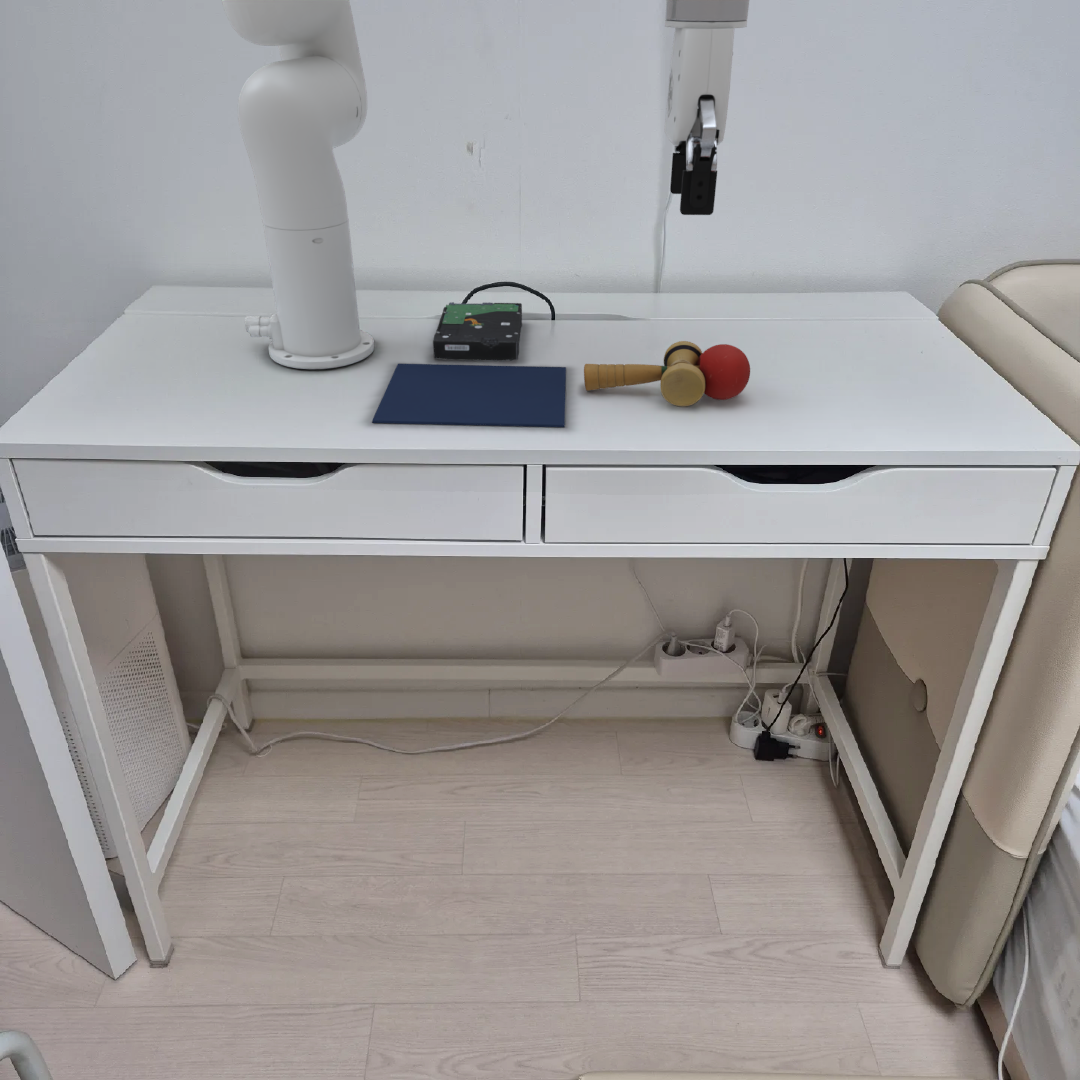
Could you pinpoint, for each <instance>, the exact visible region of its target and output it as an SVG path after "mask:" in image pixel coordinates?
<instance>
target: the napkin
mask: <svg viewBox="0 0 1080 1080" xmlns="http://www.w3.org/2000/svg"><path fill="white" fill-rule="evenodd" d="M566 387H567V367H566V366H537V365H536V366H534V365H533V366H531V365H525V366H524V365H486V364H485V365H484V364H483V365H482V364H480V365H479V364H445V363H443V364H441V363H440V364H439V363H436V364H435V363H397V365H396V367H395V369H394V371H393V374H392V376H391V378H390V380H389V382H388V384H387V387H386V388H385V390H384V394H383V395H382V398H381V399H380V402H379V404H378V407H377V409H376V410H375V414H374V416H373V417H372V420H371V423H372V424H395V425H396V424H398V425H399V424H400V425H401V424H403V425H408V424H409V425H439V426H441V425H442V426H443V425H445V426H447V425H448V426H450V425H451V426H483V427H484V426H487V427H489V426H490V427H527V428H528V427H529V428H531V427H532V428H539V427H540V428H565V427H566V426H565V425H566V390H567V389H566Z"/></svg>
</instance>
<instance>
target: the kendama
mask: <svg viewBox="0 0 1080 1080" xmlns="http://www.w3.org/2000/svg"><path fill="white" fill-rule="evenodd" d="M750 376H751V364H750V362H749V359H748V356H747V355H746V354H745V353H744V351H742V350H741V349H740V348H739V347H736V346H734V345H731V344H727V343H721V344H716V345H713V346H711V347H708V348H706V349H705V350H704V351H703V350H702V349H701V348H700V347H699V345H697V344H695V343H694V342H692V341H687V340H680V341H676V342H674V343H672V344H671V345H670V346H668V347H667V349H666V351H665V353H664V356H663V365H658V364H657V365H656V364H642V363H640V364H639V363H626V364H623V363H616V364H614V363H608V364H607V363H600V364H599V363H584V366H583V381H584V389H585V391H587V392H589V391H596V390H600V389H602V390H603V389H609V388H610V389H613V388H619V387H625V386H626V387H628V386H637V385H643V384H649V383H654V382H660V383H659V385H660V393H661V396H662V397H663V399H664V400H665V401H666V402H668V403H669V404H671V405H673V406H676V407H689V406H693V405H694V404H696V403H697V402H699V401H700V400H701V399H702V397H703V396H704V395H705V396H707V397H708V398H711V399H713V400H718V401H719V400H720V401H726V400H730V399H733V398H735V397H737V396H739V395H740V394H741V393H742V392H743V391H744V390H745V389H746V387H747V385H748V383H749V381H750V378H751V377H750Z"/></svg>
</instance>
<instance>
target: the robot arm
mask: <svg viewBox="0 0 1080 1080" xmlns="http://www.w3.org/2000/svg"><path fill="white" fill-rule="evenodd" d="M665 1H666V3H665V17H664V27H666V28H671V29H674V33H673V41H672V47H671V54H670V55H671V56H670V65H669V76H668V86H667V87H668V88H667V97H666V108H665V119H664V134H665V136H666V137H667V139H668V141H670V143H671V144H672V145H673V146H674V152H672V157H671V159H672V160H671V173H670V185H669V186H670V187H669V191H670V192H671V194H673V195H680V202H679V203H680V205H679V213H680V214H681V215H682V216H711V215H713V213H714V209H715V198H716V188H717V180H718V179H717V178H718V170H717V169H718V146H719V145H720V144H721V143H723V141H724V139H725V138H724V137H725V132H726V125H727V119H728V118H727V116H728V110H729V109H728V108H729V98H730V90H731V80H732V79H731V78H732V66H733V56H734V39H735V29H743V28H747V27H748V16H749V8H750V7H749V6H750V0H665ZM221 4H222V7H223V11H224V14H225V16H226V18H227V20H228V22H229V24H230V25H231V27H232V29H233V30H234V31H235V32H236V33H237V34H238V36H240V37H241V38H242V39H244V40H245V41H247V42H249V43H250V44H254V45H258V46H263V47H278V48H277V49H278V51H279V55H280V60H278V61H273V62H270V63H267V64H265V65H263V66H260V67H259V68H257V69H256V70H254V72H252V73H251V74H250V75H249V76H248V77H247V79H246V80H245V82H244V83H243V86H242V87H241V90H240V91H239V96H238V99H237V100H238V101H237V120H238V126H239V131H240V133H241V138H242V141H243V143H244V147H245V150H246V153H247V156H248V159H249V162H250V166H251V169H252V174H253V177H254V181H255V187H256V191H257V197H258V203H259V210H260V216H261V222H262V227H263V231H264V232H263V233H264V238H265V245H266V252H267V258H268V264H269V265H268V266H269V271H270V278H271V279H270V280H271V284H272V289H273V290H272V292H273V297H274V305H275V312H276V313H272V314H271V315H270V317H269V316H262V315H260V316H259V315H246V316H245V318H244V328H245V331H246V332H247V333H248V335H249V336H250V338H263V337H264V338H269V340H271V341H270V342H269V343H268V353H269V357H270V358H271V360H272V361H274V363H277V364H279V365H281V366H284V367H286V368H287V367H288V368H293V369H300V370H326V369H327V370H328V369H335V368H341V367H345V366H349V365H354V364H355V363H358V362H361V361H362V360H365V359H366V358H368V357H369V356H370V355H372V353H373V351H374V350H375V341H374V338H373V336H372V335H371V334H370V333H368V332H367V331H365V330H362V329H361V327H360V319H359V308H358V298H357V289H356V279H355V269H354V261H353V260H354V259H353V250H352V240H351V239H352V238H351V229H350V220H349V214H348V213H349V211H348V205H347V198H346V191H345V187H344V183H343V179H342V175H341V173H340V170H339V167H338V163H337V160H336V157H335V153H334V149H336V148H338V147H340V146H342V145H346V144H347V143H349V142H351V141H352V140H354V138H355V137H357V135H358V134H359V133H360V132H361V130H362V128H363V126H364V124H365V122H366V120H367V113H368V92H367V86H366V80H365V74H364V69H363V63H362V57H361V54H360V53H361V52H360V48H359V44H358V38H357V37H358V36H357V33H356V27H355V22H354V17H353V13H352V12H353V11H352V7H351V2H350V0H221Z"/></svg>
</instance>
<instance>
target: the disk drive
mask: <svg viewBox="0 0 1080 1080" xmlns="http://www.w3.org/2000/svg"><path fill="white" fill-rule="evenodd" d="M522 322H523V304H522V303H521V302H482V303H455V302H454V301H453V302H452V301H451V302H450V301H449V303H448V304H446V305H445V306H444V307H443V309H442V314H441V315H440V319H439V322H438V324H437V327H436V330H435V333H434V336H433V340H432V346H433V358H434V359H435V360H436V359H437V360H447V361H499V362H500V361H501V362H502V361H503V362H504V361H505V362H506V361H510V362H511V361H513V360H514V361H517V360H518V359H519V354H520V341H521V331H522V326H523V324H522Z"/></svg>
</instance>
